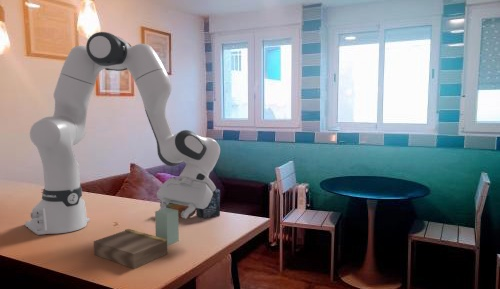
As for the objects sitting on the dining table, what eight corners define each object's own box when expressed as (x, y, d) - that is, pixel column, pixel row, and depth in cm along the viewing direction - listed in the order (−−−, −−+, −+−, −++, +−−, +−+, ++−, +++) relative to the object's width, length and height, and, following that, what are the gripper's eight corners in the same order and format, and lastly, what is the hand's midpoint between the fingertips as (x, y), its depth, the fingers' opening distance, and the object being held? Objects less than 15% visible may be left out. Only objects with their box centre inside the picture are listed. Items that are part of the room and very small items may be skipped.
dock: (94, 254, 106) (93, 240, 106) (128, 241, 116) (127, 228, 116) (134, 268, 97) (133, 253, 96) (167, 253, 107) (167, 239, 107)
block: (155, 242, 116) (155, 211, 115) (167, 237, 120) (166, 207, 119) (167, 245, 113) (166, 214, 112) (178, 240, 117) (178, 210, 116)
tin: (160, 215, 145) (159, 194, 144) (164, 213, 148) (164, 192, 147) (193, 219, 139) (193, 198, 139) (197, 217, 142) (197, 196, 142)
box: (202, 219, 140) (202, 191, 139) (195, 215, 145) (195, 189, 144) (220, 216, 144) (220, 189, 143) (213, 212, 149) (213, 186, 148)
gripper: (165, 171, 128) (144, 204, 121) (211, 177, 117) (191, 214, 110) (174, 181, 133) (154, 214, 125) (220, 188, 122) (201, 225, 114)
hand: (172, 214), depth 118 cm, fingers open, 8 cm apart
